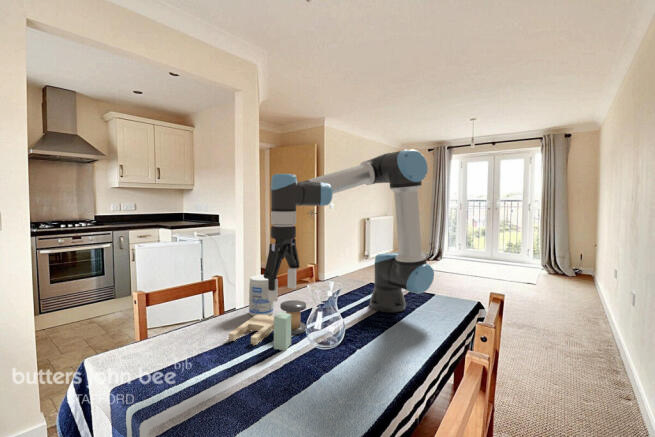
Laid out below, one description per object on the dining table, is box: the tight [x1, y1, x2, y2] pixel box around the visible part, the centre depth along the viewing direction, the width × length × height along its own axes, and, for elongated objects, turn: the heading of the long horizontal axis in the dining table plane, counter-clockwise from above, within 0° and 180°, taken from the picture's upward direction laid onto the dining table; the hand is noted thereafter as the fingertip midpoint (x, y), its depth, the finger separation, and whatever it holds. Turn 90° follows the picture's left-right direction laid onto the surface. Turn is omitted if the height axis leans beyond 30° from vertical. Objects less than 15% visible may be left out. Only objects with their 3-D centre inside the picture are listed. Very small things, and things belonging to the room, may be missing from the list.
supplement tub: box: [248, 274, 275, 317], centre depth 126 cm, size 10×10×15 cm
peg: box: [273, 312, 292, 352], centre depth 98 cm, size 4×4×10 cm
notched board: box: [228, 314, 276, 346], centre depth 109 cm, size 18×10×2 cm, turn 163°
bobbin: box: [279, 299, 307, 336], centre depth 111 cm, size 9×9×9 cm
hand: (283, 294), depth 97 cm, fingers open, 13 cm apart
